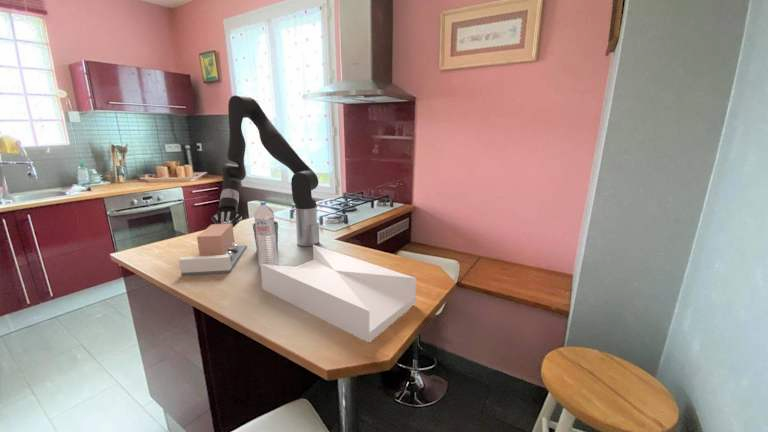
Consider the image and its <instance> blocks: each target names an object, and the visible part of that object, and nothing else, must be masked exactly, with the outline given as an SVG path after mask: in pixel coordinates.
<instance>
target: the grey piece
mask: <svg viewBox="0 0 768 432" xmlns="http://www.w3.org/2000/svg"><path fill="white" fill-rule="evenodd" d="M238 246H239V249H238V250H237V251H232V252H233V254H234V255H233V257H232V258H231V257H230V255H214V256H196V255H195V256H182V257H180V259H179V260H178V261H179V267H180V272H181V276H194V275H210V274H212V275H213V274H229V273H231V272H232V270H233V269H234V268H235V266H236V264H237V263H238V262H239V260H240V258H241V257H242V255H243V254H244V253H245V251H246V250H247V248H248V247H247V246H248V245H247V244H244V245H243V244H242V245H240V244H239V245H238Z"/></svg>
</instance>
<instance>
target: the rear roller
mask: <svg viewBox="0 0 768 432" xmlns="http://www.w3.org/2000/svg"><path fill="white" fill-rule="evenodd" d="M238 249H239V245H238V244H237V243H236V244H235V243H233V244H232V245H231V246H230V248H229V249H228V250H227V251H231V252H232V251H237V250H238Z"/></svg>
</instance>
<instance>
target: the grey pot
mask: <svg viewBox="0 0 768 432" xmlns="http://www.w3.org/2000/svg"><path fill="white" fill-rule="evenodd" d="M274 227H275V235H276V249H277V251H278V249H279V248H278V243H279V242H278V241H279V223H278V221H275V220H274ZM252 229H253V235H254V236H253V237H254V240H255V246H256V250H257V241H256V226H255V222H254V223H253V224H252Z"/></svg>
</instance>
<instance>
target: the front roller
mask: <svg viewBox="0 0 768 432" xmlns="http://www.w3.org/2000/svg"><path fill="white" fill-rule="evenodd" d="M224 255H230V257H231V258H232V257H233V255H234V254H233V252H231V251H226V252H225V254H224ZM197 256H200V254H199V253H198V254H197Z"/></svg>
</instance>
